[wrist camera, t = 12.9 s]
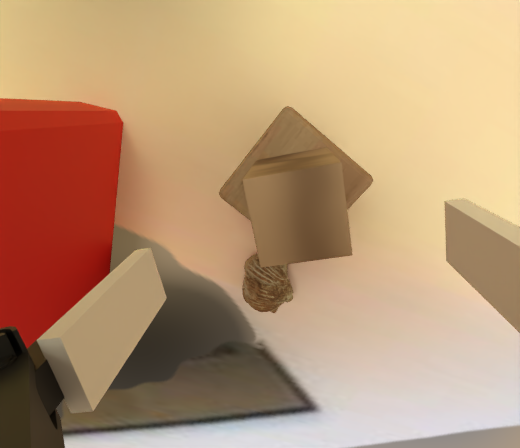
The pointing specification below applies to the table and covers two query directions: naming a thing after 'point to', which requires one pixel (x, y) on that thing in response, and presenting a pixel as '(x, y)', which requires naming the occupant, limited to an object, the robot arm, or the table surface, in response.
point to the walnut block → (298, 207)
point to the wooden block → (287, 142)
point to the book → (54, 207)
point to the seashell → (266, 285)
